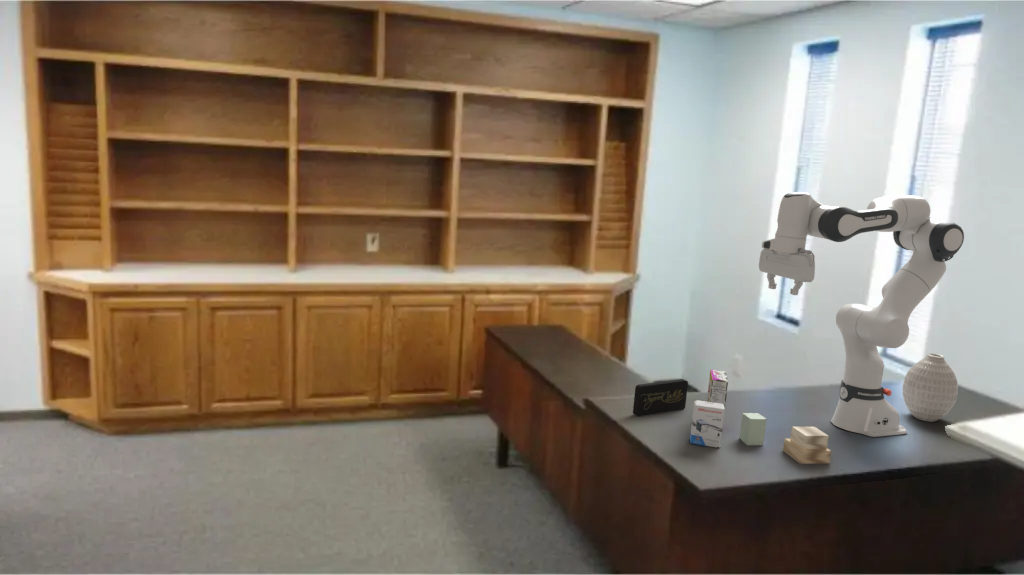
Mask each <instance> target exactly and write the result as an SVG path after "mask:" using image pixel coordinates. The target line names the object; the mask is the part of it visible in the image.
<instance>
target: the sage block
mask: <svg viewBox="0 0 1024 575" xmlns="http://www.w3.org/2000/svg"><path fill="white" fill-rule="evenodd" d="M767 421H768V420H767V418H766V417H765V416H763V415H761V414H760V413H758V412H755V413H754V412H743V413H742V415H741V423H740V429H739V430H740V431H739V440H740V439H741V440H740V441H741V442H743V443H744V444H745V445H747V446H764V440H765V434H766V427H767Z"/></svg>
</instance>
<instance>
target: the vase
mask: <svg viewBox="0 0 1024 575" xmlns="http://www.w3.org/2000/svg"><path fill="white" fill-rule="evenodd" d="M958 394H959V383H958V379H957V376H956V373H954V370H953V369H952V368H951V367H950V365H949V364H948V362H946V360H945V356H944V355H942V354H939V353H934V352H933V353H927V354H926V356H925V357H924V358H922V359H921V360H919V361H917V362H916V363H914V364H913V365H912V366H911V367H910V368H909V370H908V371H907V372H906V374H905V377H904V380H903V381H902V396H903V401H904V403H905V406H906V407H907V409H908V411H909V412H910V414H911V415H912V416H913V418H916V419H917V420H919V421H923V422H930V423H931V422H933V423H934V422H937V421H939V420H940V419H942V418H943V417H945V416H946V415H947V414H948V413H949V412H950V411H951V410H952V409H953V407H954V406H955V404H956V402H957V399H958Z"/></svg>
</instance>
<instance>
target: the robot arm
mask: <svg viewBox="0 0 1024 575" xmlns="http://www.w3.org/2000/svg"><path fill="white" fill-rule="evenodd" d="M778 208H779V209H778V213H777V220H776V221H777V229H776V231H775V234H774V238H771V239H768V240H763V241H762V242H761V248H762V250H761V251H760V255H759V262H758V269H759V272H763V273H766V278H767V282H768V287H767V288H768V289H770V290H776V288H777V285H778V284H777V283H776V282H775V278H776V277H777V276H778V277H781V278H784V279H790V280H793V284H794V285H793V287H792V288H790V291H789V294H790V295H791V296H799V290H800V289H801V287H802V286H803V285H804V283H812V282H813V281H814V280H815V274H816V263H815V262H816V260H815V259H816V257H815V254H814V253H813V251H812V250H810V249H806V244H807V236H809V237H810V236H811V237H815V238H820V239H823V240H829V241H832V242H835V243H842V242H846V241H848V240H850V239H851V238H853V237H855V236H857V235H860V234H863V233H864V234H865V233H868V232H869V233H870V232H881V233H882V232H883V233H890V232H892V235H893V236H892V237H893V241H894V243H895V244H896V245H897V246H898V247H899V248H901V249H903V250H905V251H911V252H913V253H912V255H911V257H910V259H909V261H907V262H906V263H905V264H904V265H903V266H901V268H900V269H899V270H898V271H896V273H895V274H894V275H893V276H892V277H890V279H889V280H888V281H887V282H886V283H885V284H884V285H883V287H882V288H881V295H882V298H883V299H882V300H881V301H880V304H879V305H878V306H876V307H872V306H870V305H867V304H863V303H846V304H844V305H842V306H841V307H840V308H839V309H838V311H837V313H836V316H835V324H836V325H837V326H836V327H837V328H838V329H839V330H840V333H841V336H842V339H843V344H844V345H843V346H844V349H845V350H844V351H845V364H844V370H843V371H844V372H843V378H842V379H841V382H840V388H839V398H838V402H837V405H836V408H835V411H834V414H833V416H832V418H831V420H830V422H831V424H832V425H834V426H836V427H838V428H839V429H843V430H845V431H848V432H851V433H857V434H861V435H864V436H868V437H870V438H871V437H872V438H875V437H877V438H878V437H885V436H896V435H897V436H898V435H899V436H900V435H906V434H908V433H907V429H906V428H905V427H904V426H903V425H901V424H900V422H901V420H900V413H899V411H898V410H897V409H896V408H895V406H893V405H891V404H890V402H888V400H887V399H885V396H887V397H890V396H892V393H893V391H892V390H891V389H889V388H884V387H882V380H883V375H884V369H885V362H884V360H883V358H882V356H881V355H880V354H879V351H878V350H879V349H878V347H880V348H884V349H885V348H887V349H897V348H899V347H901V346H903V345H904V344H905V343H906V341H907V340H908V338H909V335H910V328H909V327H910V326H909V323H908V322H909V319H910V316H911V315H912V313H913V311H914V310H915V308H916V307H917V306H918V305H919V304H920V303H921V302H922V301H923V300H924V299H925V298H926V297H927V296H928V295H929V294H930V293H931V292H932V290H933V289H934V288H935V287H936V286H937V284H939V282H940V280H942V277H943V276H944V274H945V273H946V270H947V265H946V262H948V261H949V260H951V259H952V258H954V255H956V254H957V253H958V252H959V250H960V249H961V247H962V246H963V243H964V240H965V233H964V230H963V228H962V227H961V226H960V225H958V224H957V223H955V222H952V221H950V220H942V219H936V218H932V217H930V216H931V206H930V204H929V202H928V200H927V199H925V198H924V197H922V196H919V195H910V194H909V195H908V194H893V195H886V196H882V197H877V198H874V199H872V200H871V201H870V202H869V204H868V205H867V207H866V209H865V210H858V211H856V210H854V209H851V208H848V207H846V206H832V205H824V204H823V203H820V202H819V201H817V199H815V198H813V197H812V196H811V194H810V192H806V191H794V192H788V193H786V194H785V195H783V196H782V199H781V200H780V204H779V207H778Z"/></svg>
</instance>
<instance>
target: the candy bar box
mask: <svg viewBox="0 0 1024 575" xmlns="http://www.w3.org/2000/svg"><path fill="white" fill-rule="evenodd" d="M709 370H710V371H709V379H708V388H707V397H706V402H713V403H720V404H723V405H724V406H725V407H726V403H727V394H728V385H729V379H728V376H727V372H726V371H725V370H718V369H709Z"/></svg>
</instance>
